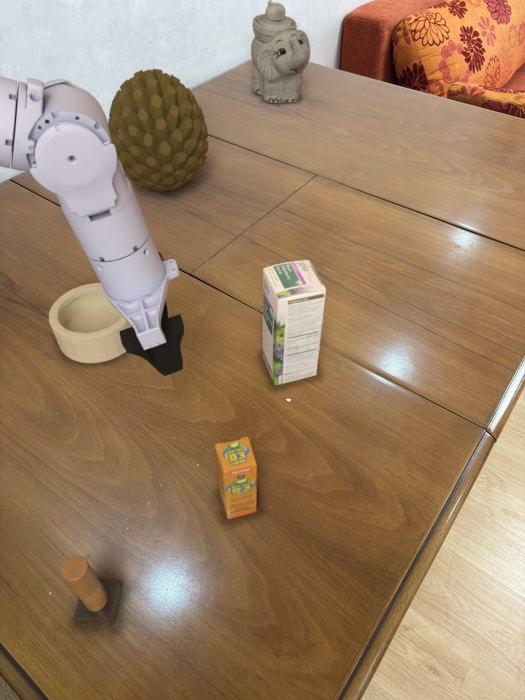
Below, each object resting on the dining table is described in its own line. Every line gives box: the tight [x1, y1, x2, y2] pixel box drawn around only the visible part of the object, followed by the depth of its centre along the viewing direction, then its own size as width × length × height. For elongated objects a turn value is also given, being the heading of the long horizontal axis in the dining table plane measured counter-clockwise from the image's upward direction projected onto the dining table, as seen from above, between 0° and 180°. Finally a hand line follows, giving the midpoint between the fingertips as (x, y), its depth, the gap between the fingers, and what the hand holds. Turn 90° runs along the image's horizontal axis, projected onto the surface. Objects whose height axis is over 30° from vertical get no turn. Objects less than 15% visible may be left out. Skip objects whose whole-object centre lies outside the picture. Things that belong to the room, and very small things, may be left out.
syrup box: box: [261, 259, 327, 386], centre depth 63 cm, size 6×6×14 cm
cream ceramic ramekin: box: [48, 282, 132, 364], centre depth 71 cm, size 11×11×4 cm
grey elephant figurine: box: [250, 0, 311, 104], centre depth 120 cm, size 16×15×19 cm
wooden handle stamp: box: [61, 555, 123, 626], centre depth 46 cm, size 3×3×9 cm
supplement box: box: [214, 436, 258, 520], centre depth 52 cm, size 3×3×10 cm
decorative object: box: [107, 68, 209, 193], centre depth 92 cm, size 17×17×20 cm
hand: (165, 344), depth 55 cm, fingers open, 7 cm apart
